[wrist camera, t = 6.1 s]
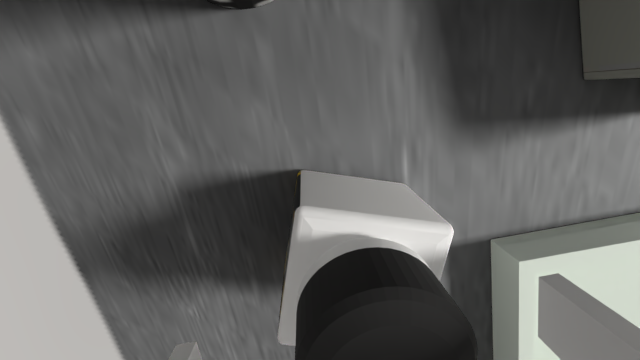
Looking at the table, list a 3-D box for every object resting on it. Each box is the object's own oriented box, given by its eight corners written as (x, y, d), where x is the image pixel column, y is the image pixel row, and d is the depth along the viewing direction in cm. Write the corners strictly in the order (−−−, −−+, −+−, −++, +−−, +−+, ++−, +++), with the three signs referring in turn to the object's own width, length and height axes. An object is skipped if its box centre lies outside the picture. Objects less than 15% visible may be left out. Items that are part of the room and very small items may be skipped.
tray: (490, 239, 22) (519, 261, 19) (714, 198, 22) (776, 215, 19) (494, 410, 26) (518, 449, 23) (680, 375, 26) (727, 410, 23)
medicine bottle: (298, 167, 20) (292, 272, 8) (406, 182, 20) (541, 298, 9) (284, 267, 22) (263, 466, 10) (384, 277, 22) (471, 476, 11)
